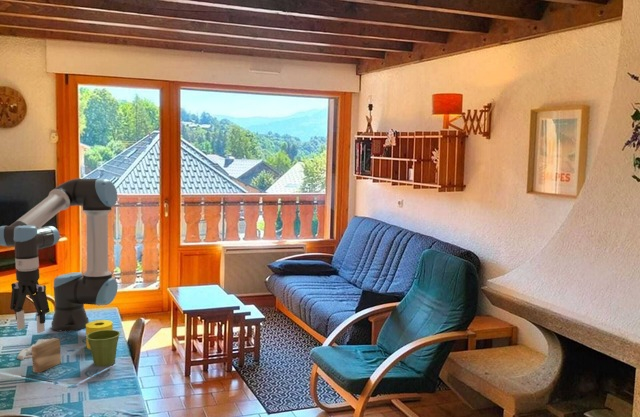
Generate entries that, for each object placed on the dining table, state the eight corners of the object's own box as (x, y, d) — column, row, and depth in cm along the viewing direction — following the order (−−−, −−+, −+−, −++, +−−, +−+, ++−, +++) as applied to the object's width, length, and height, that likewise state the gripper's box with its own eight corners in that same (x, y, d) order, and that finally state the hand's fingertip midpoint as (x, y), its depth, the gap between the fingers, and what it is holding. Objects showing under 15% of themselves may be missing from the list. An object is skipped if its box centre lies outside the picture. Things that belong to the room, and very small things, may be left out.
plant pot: (128, 360, 229) (127, 331, 228) (107, 372, 218) (106, 341, 217) (101, 356, 233) (100, 327, 232) (80, 367, 222) (78, 337, 221)
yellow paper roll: (114, 341, 250) (113, 319, 248) (112, 350, 240) (111, 327, 239) (88, 343, 247) (87, 320, 246) (85, 352, 238) (83, 328, 236)
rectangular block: (32, 371, 217) (31, 346, 216) (54, 361, 226) (53, 338, 225) (39, 372, 216) (38, 348, 215) (61, 362, 225) (59, 339, 224)
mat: (55, 360, 229) (55, 359, 229) (85, 365, 224) (85, 364, 224) (21, 376, 214) (21, 374, 214) (52, 382, 209) (52, 380, 209)
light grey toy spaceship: (27, 337, 244) (54, 336, 246) (28, 345, 245) (54, 344, 247) (15, 356, 227) (44, 354, 229) (16, 365, 227) (45, 363, 229)
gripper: (-4, 268, 220) (0, 329, 222) (42, 273, 212) (45, 337, 215) (13, 264, 226) (17, 323, 229) (58, 269, 219) (62, 330, 222)
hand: (31, 330), depth 222 cm, fingers open, 9 cm apart
